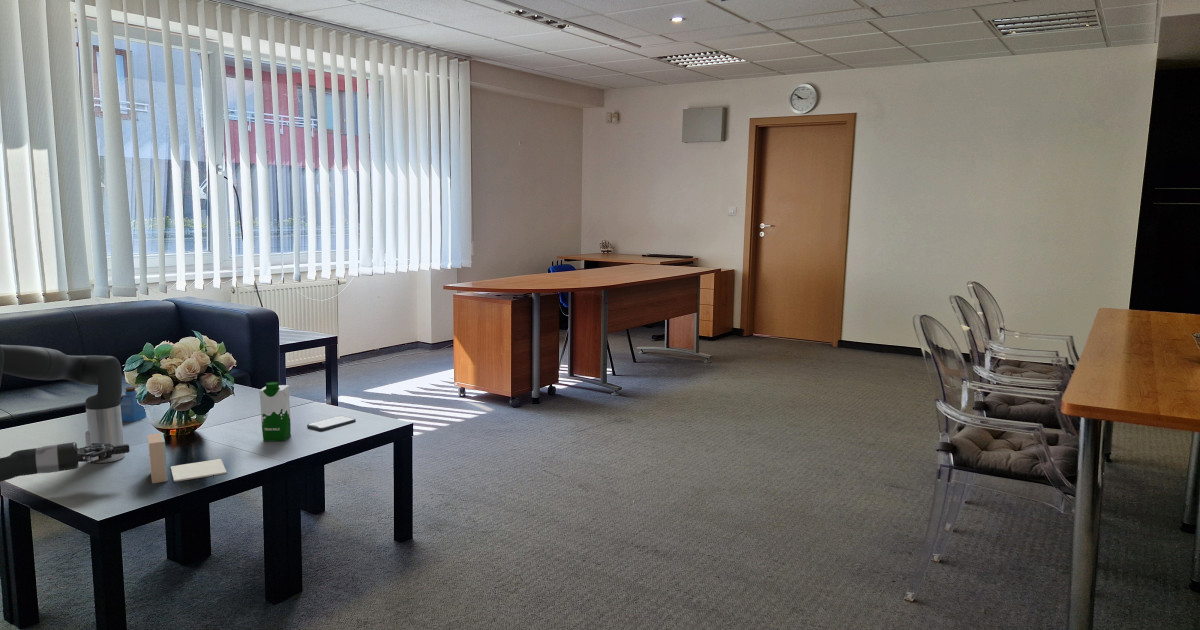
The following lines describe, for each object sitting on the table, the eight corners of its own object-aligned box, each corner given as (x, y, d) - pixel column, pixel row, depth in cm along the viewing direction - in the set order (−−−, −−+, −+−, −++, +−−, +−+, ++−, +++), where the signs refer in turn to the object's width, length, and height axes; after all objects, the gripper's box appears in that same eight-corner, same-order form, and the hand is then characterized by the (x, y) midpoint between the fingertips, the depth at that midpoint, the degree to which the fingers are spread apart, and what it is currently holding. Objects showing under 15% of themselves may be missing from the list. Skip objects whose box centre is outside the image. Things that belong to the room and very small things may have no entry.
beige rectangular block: (152, 483, 227) (149, 443, 225) (150, 473, 235) (147, 434, 234) (167, 480, 229) (164, 441, 227) (165, 470, 237) (162, 432, 236)
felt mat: (174, 481, 228) (173, 480, 228) (170, 468, 240) (170, 466, 240) (226, 473, 236) (226, 471, 235) (220, 460, 247) (220, 458, 247)
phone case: (341, 419, 296) (305, 428, 283) (341, 415, 296) (305, 424, 283) (357, 423, 292) (321, 432, 278) (357, 419, 291) (321, 428, 278)
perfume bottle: (146, 417, 295) (143, 386, 293) (134, 421, 289) (131, 390, 287) (131, 416, 296) (128, 385, 294) (119, 421, 290) (116, 389, 288)
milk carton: (259, 442, 266) (256, 385, 263) (268, 434, 275) (265, 378, 272) (286, 441, 266) (283, 384, 263) (294, 434, 275) (291, 378, 272)
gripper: (54, 451, 212) (128, 441, 221) (57, 438, 223) (127, 429, 232) (57, 478, 213) (130, 467, 222) (59, 464, 224) (130, 454, 233)
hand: (129, 448), depth 227 cm, fingers closed
